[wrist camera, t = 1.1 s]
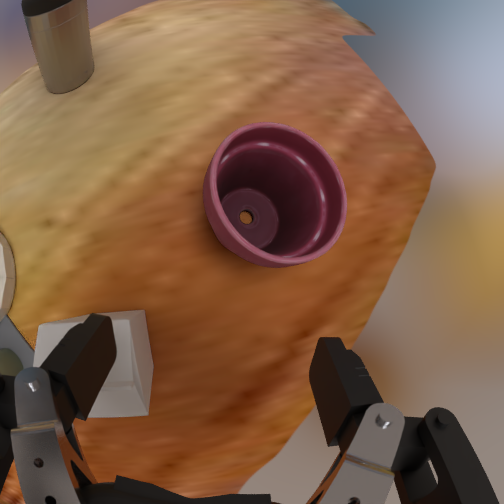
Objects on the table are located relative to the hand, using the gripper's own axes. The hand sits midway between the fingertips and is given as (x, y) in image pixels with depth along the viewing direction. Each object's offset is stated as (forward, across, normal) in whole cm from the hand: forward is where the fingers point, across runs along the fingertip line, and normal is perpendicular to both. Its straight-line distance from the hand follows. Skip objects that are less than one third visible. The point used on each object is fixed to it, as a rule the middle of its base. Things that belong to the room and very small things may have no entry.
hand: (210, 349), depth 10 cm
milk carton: (+17, +12, +14) cm, 25 cm away
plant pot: (+28, -2, +1) cm, 28 cm away
